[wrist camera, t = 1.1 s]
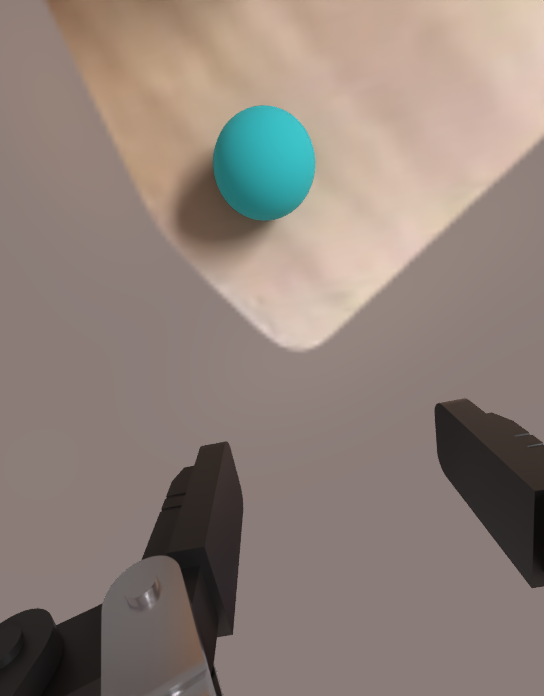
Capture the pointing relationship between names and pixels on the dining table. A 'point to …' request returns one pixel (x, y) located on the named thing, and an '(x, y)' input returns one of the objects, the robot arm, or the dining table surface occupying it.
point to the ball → (264, 163)
